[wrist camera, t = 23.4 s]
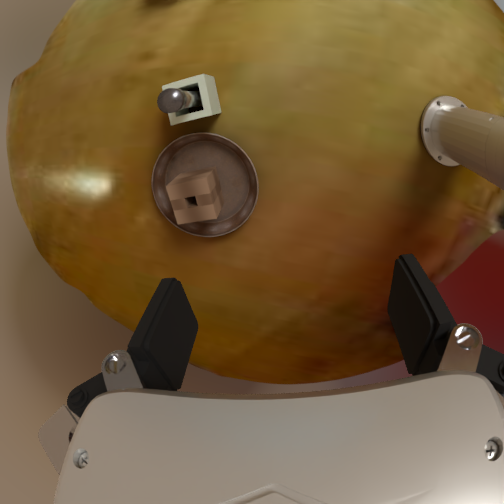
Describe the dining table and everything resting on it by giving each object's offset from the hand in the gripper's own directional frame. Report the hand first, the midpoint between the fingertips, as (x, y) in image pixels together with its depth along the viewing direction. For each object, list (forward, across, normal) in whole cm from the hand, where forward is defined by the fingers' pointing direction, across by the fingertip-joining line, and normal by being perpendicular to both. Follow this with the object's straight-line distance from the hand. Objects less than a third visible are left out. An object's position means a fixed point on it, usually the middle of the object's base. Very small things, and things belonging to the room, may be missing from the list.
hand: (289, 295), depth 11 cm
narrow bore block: (+31, +13, +4) cm, 34 cm away
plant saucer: (+34, +13, +4) cm, 37 cm away
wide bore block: (+33, +11, -10) cm, 36 cm away
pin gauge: (+33, +11, -10) cm, 36 cm away
